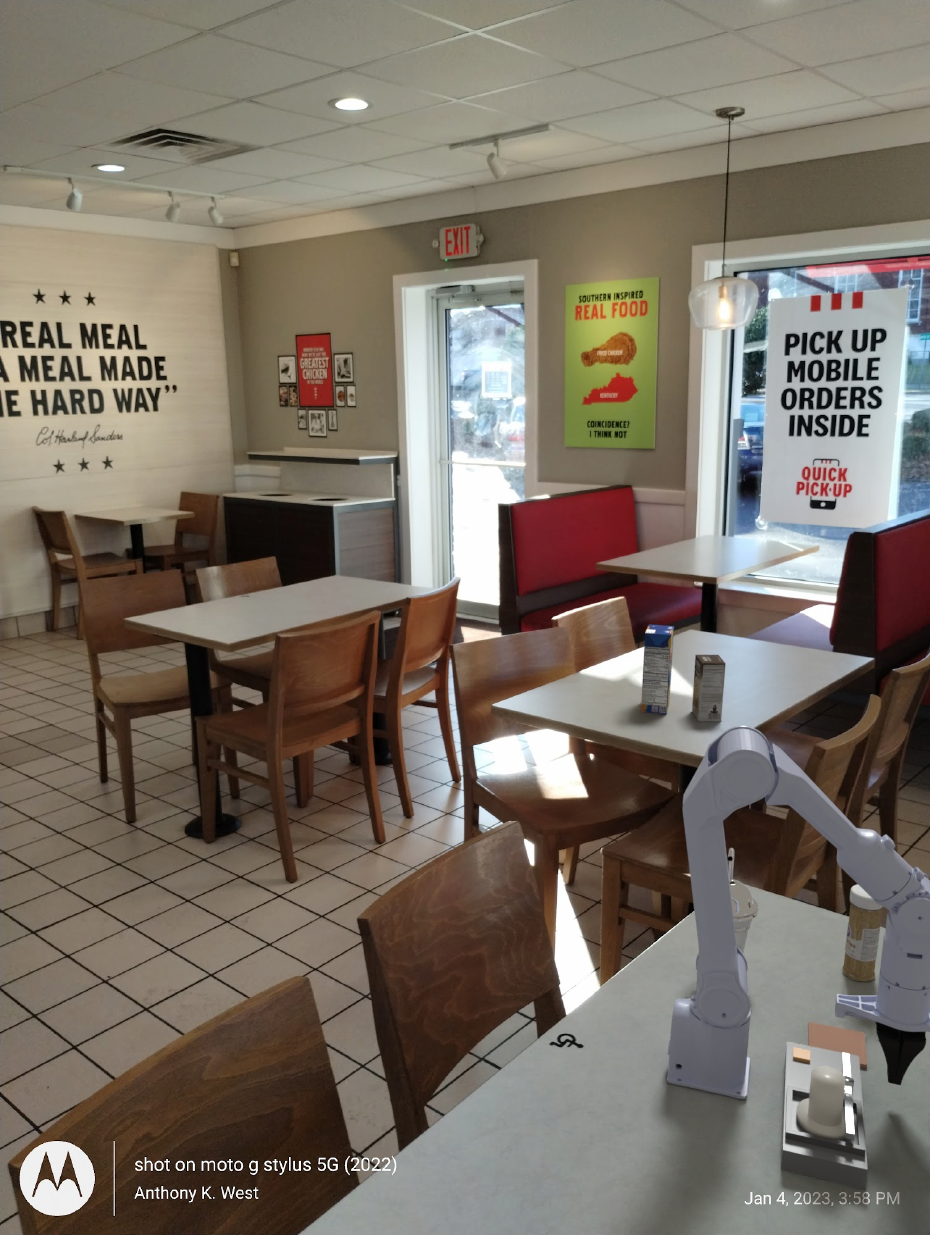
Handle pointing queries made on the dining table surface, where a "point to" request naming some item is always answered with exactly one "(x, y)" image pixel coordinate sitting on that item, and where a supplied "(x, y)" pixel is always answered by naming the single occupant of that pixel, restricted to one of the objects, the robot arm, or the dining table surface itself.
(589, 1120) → the dining table surface
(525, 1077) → the dining table surface
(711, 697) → the coffee box
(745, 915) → the cup with straw
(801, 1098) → the power strip
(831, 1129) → the plug
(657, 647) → the beverage box
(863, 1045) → the mat
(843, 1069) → the clip
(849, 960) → the sprinkles bottle
